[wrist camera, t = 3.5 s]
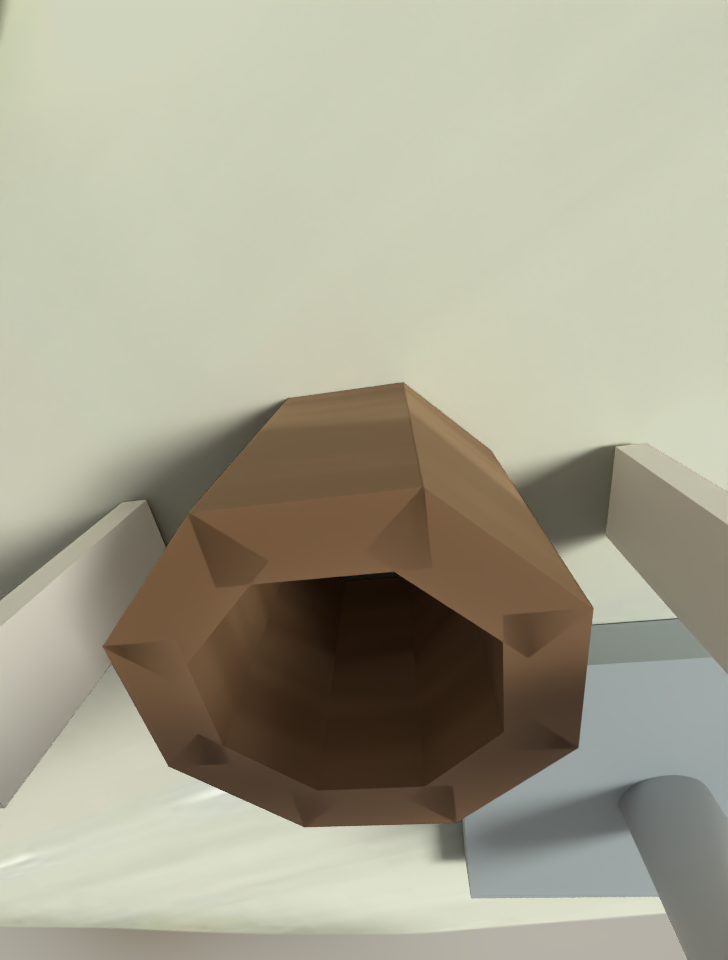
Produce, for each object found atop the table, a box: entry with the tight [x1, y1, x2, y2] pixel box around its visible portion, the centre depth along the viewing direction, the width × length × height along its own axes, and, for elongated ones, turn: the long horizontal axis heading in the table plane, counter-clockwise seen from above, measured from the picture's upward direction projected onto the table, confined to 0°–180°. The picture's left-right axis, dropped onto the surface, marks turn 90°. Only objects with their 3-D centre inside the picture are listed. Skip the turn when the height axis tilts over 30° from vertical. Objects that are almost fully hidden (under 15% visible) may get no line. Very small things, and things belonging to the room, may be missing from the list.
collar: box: [102, 382, 594, 827], centre depth 9 cm, size 7×7×6 cm
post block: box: [462, 619, 728, 960], centre depth 12 cm, size 14×14×9 cm
